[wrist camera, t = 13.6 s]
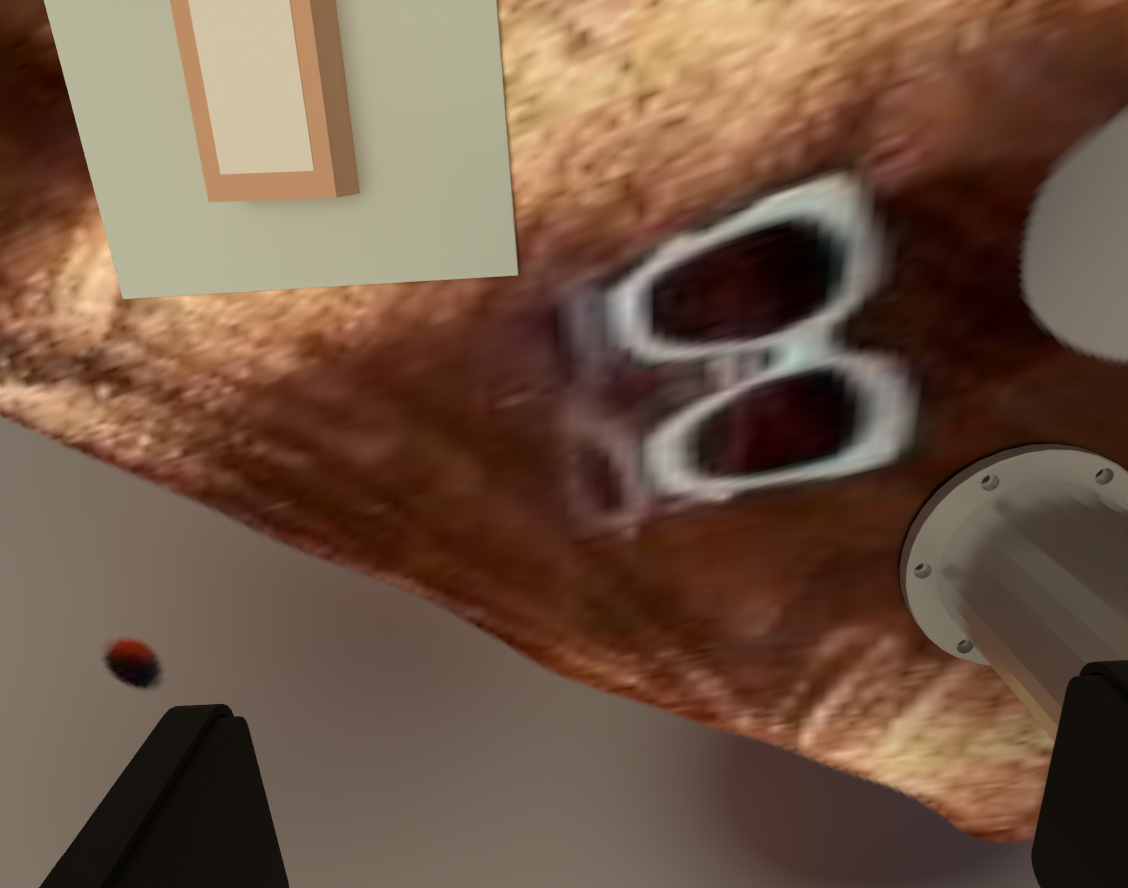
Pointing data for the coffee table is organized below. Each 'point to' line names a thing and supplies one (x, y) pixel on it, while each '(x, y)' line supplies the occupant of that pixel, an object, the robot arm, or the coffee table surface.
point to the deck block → (267, 98)
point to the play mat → (300, 226)
